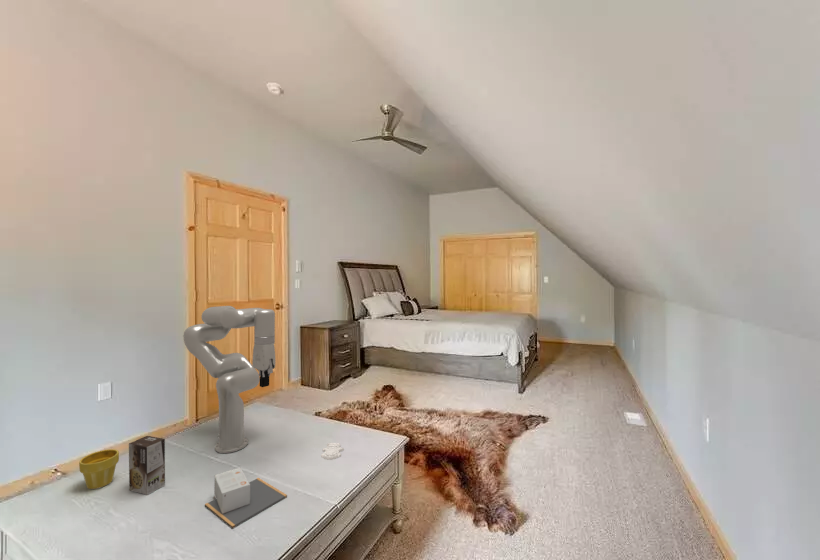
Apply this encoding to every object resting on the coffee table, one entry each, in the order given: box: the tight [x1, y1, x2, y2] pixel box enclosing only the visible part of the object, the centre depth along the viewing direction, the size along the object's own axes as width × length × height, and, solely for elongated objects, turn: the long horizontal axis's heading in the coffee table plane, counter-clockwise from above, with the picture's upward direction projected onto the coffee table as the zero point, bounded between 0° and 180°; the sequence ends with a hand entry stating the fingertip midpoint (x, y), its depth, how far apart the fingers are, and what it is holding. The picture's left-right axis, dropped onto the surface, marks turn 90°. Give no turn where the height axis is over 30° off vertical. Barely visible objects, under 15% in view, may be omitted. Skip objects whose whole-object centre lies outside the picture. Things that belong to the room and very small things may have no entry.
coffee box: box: [128, 435, 166, 496], centre depth 120 cm, size 9×6×16 cm
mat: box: [204, 477, 288, 530], centre depth 112 cm, size 17×18×1 cm
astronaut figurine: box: [320, 442, 345, 461], centre depth 144 cm, size 9×12×3 cm
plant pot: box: [78, 448, 120, 490], centre depth 122 cm, size 10×10×10 cm
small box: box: [213, 467, 250, 514], centre depth 112 cm, size 8×6×13 cm
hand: (264, 386), depth 139 cm, fingers closed
